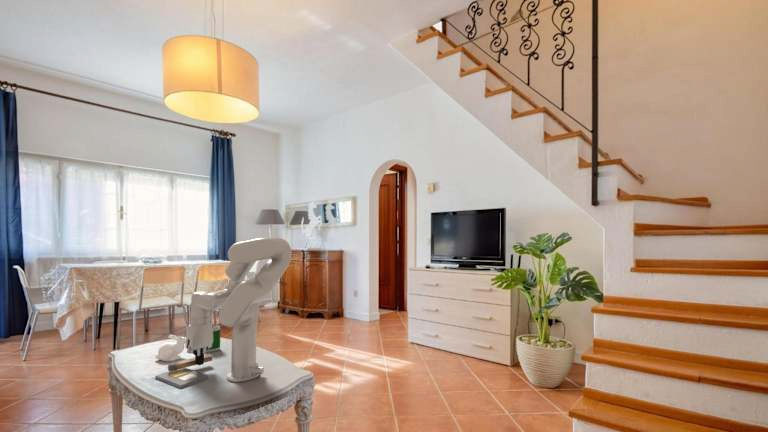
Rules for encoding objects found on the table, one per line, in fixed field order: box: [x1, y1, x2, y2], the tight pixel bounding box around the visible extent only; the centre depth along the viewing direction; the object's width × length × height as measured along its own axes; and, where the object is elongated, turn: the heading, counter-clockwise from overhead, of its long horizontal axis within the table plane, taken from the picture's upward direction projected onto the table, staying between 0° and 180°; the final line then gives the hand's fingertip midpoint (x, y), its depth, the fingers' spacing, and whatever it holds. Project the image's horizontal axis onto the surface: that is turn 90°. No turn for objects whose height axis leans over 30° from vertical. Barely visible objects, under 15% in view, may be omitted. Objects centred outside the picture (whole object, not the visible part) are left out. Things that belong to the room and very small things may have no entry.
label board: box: [155, 367, 209, 390], centre depth 142 cm, size 18×11×2 cm, turn 59°
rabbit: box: [154, 334, 186, 362], centre depth 164 cm, size 12×9×12 cm
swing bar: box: [167, 354, 213, 371], centre depth 151 cm, size 17×4×2 cm, turn 137°
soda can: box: [206, 324, 222, 353], centre depth 177 cm, size 8×8×12 cm
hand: (199, 364), depth 150 cm, fingers closed
